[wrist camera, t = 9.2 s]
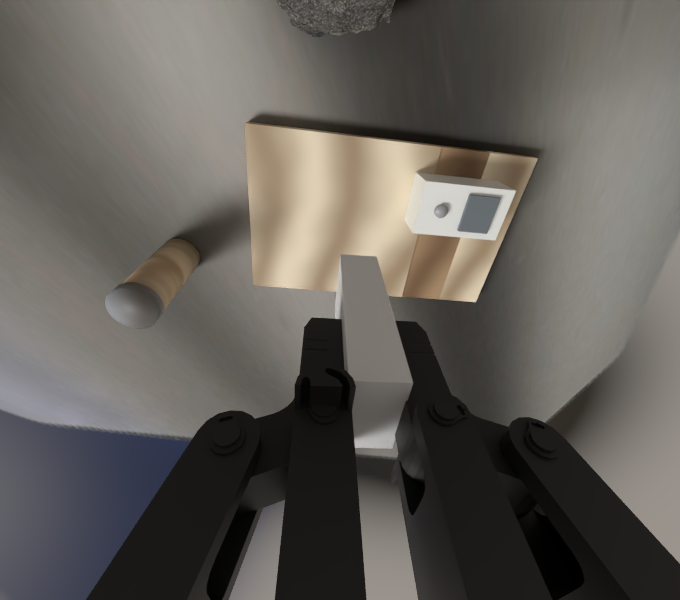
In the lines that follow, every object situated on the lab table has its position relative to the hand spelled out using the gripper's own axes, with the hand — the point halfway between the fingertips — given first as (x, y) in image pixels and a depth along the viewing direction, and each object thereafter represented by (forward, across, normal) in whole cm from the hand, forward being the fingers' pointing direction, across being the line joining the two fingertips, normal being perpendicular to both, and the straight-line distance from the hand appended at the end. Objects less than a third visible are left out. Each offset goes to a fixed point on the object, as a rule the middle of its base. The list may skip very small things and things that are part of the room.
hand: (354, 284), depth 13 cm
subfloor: (+16, +4, -3) cm, 17 cm away
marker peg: (+16, -15, -8) cm, 23 cm away
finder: (+15, +9, 0) cm, 18 cm away
